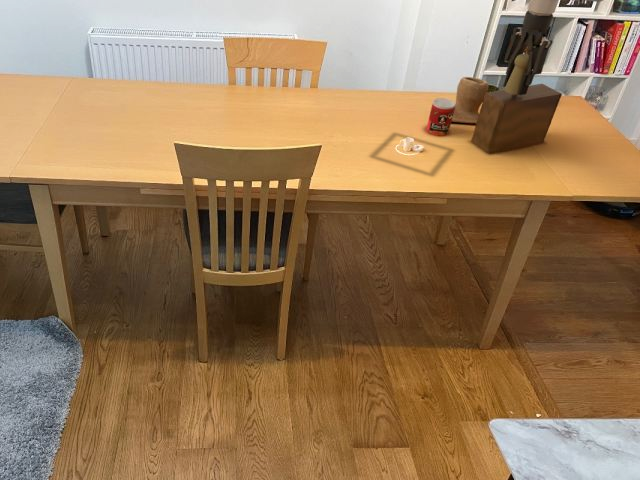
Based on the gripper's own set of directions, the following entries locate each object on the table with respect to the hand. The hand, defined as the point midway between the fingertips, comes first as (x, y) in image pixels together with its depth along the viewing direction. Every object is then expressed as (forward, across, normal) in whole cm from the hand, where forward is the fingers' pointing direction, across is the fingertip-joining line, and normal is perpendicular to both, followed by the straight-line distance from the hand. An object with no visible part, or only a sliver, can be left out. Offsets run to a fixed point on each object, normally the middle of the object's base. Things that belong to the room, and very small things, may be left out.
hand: (514, 90), depth 184 cm
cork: (0, 0, 0) cm, 0 cm away
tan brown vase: (+21, +24, -4) cm, 32 cm away
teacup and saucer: (+21, +6, +29) cm, 36 cm away
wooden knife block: (+9, -2, -7) cm, 12 cm away
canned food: (+21, +18, +11) cm, 29 cm away
